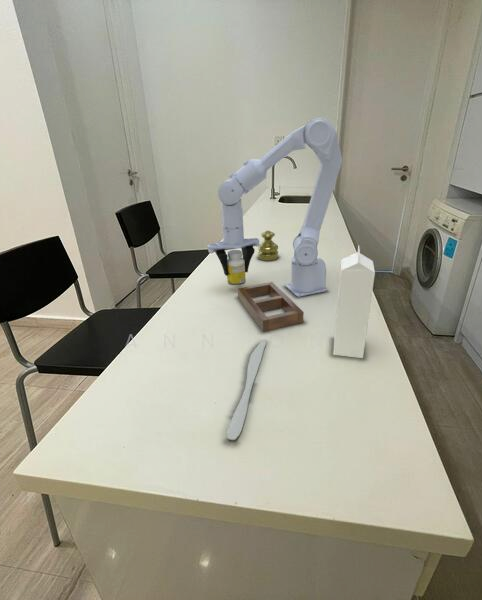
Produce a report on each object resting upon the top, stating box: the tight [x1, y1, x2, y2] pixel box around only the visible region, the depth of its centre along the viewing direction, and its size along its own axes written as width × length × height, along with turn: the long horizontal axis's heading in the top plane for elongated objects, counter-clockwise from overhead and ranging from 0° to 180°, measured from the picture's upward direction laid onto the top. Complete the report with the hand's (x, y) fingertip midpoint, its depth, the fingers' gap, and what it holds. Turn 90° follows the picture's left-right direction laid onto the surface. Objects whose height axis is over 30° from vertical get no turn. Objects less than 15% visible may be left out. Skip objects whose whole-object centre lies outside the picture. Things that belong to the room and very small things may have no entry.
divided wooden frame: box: [237, 281, 304, 332], centre depth 86 cm, size 10×20×3 cm, turn 20°
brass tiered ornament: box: [257, 230, 279, 262], centre depth 120 cm, size 7×7×10 cm
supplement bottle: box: [226, 249, 247, 288], centre depth 95 cm, size 5×5×10 cm
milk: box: [332, 244, 376, 359], centre depth 65 cm, size 6×6×22 cm
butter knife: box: [226, 340, 267, 441], centre depth 62 cm, size 1×27×3 cm
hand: (235, 272), depth 96 cm, fingers closed on supplement bottle, 5 cm apart
